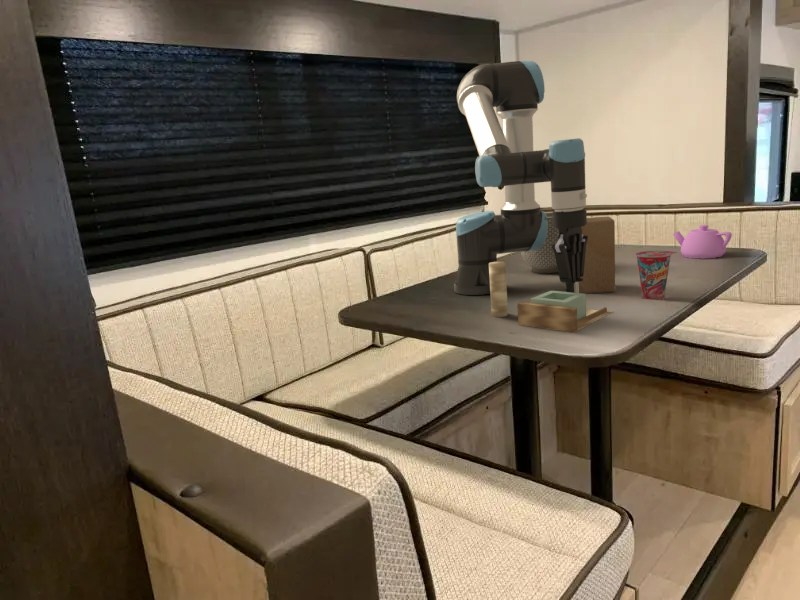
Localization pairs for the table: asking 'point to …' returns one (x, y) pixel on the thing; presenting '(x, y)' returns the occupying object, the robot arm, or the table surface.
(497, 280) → the dowel
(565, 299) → the pale green hollow block
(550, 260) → the planter
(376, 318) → the table surface
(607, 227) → the wooden block
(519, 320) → the rail board
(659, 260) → the cup
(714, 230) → the teapot
